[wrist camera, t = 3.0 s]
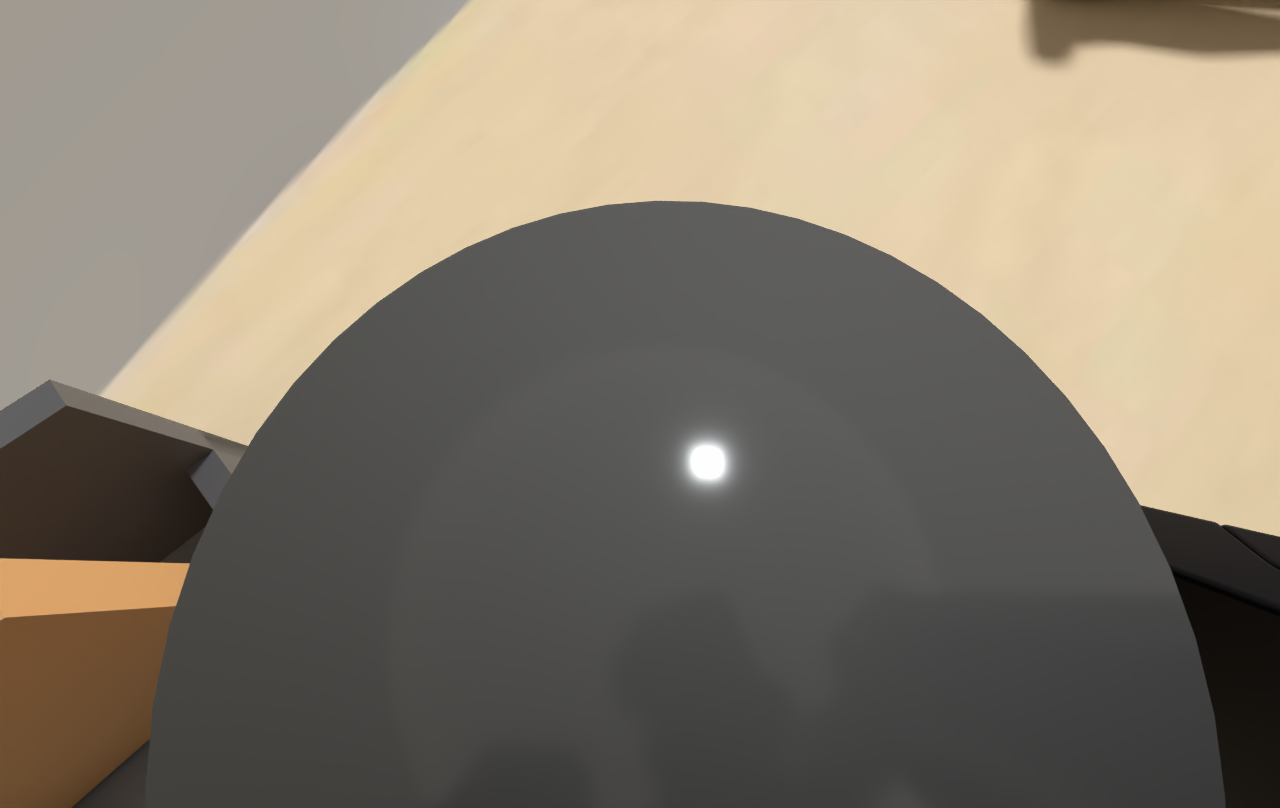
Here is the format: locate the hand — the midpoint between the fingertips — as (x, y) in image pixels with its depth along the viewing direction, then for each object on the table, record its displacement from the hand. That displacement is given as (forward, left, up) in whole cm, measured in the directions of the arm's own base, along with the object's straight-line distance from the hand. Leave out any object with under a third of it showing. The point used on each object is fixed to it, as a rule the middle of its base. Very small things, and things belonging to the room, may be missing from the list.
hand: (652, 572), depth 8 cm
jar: (0, 0, -8) cm, 8 cm away
